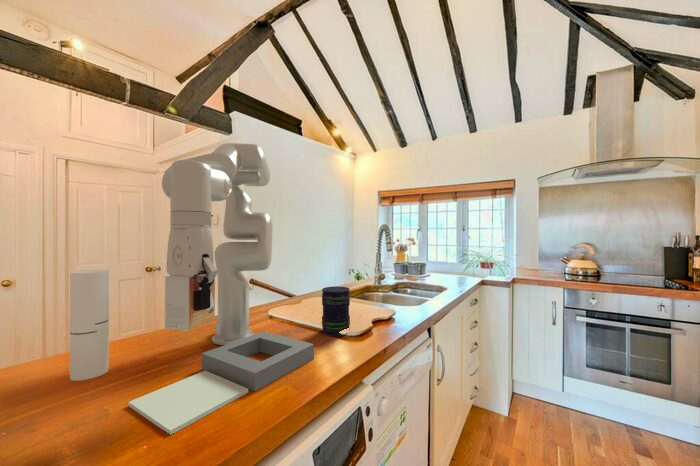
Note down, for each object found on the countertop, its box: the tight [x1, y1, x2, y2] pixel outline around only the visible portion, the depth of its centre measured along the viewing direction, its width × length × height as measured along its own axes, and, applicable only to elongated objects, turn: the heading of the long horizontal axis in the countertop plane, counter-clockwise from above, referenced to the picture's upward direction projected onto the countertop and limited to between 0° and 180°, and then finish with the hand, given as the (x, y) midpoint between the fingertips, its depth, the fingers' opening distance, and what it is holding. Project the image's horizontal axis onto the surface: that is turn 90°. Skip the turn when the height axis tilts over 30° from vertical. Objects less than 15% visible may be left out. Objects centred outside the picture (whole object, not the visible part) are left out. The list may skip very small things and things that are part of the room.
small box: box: [164, 273, 216, 331], centre depth 61 cm, size 8×6×10 cm
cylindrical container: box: [69, 269, 110, 382], centre depth 72 cm, size 7×7×25 cm
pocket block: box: [201, 331, 315, 392], centre depth 78 cm, size 20×20×4 cm
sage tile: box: [128, 370, 249, 436], centre depth 61 cm, size 16×16×1 cm
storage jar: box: [321, 286, 351, 337], centre depth 104 cm, size 10×10×15 cm
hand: (191, 306), depth 61 cm, fingers closed on small box, 7 cm apart
